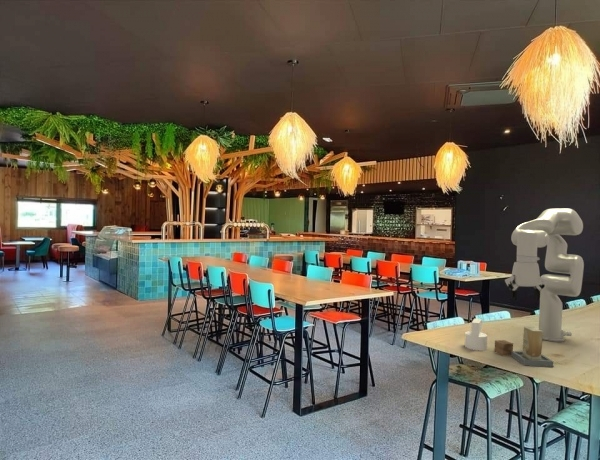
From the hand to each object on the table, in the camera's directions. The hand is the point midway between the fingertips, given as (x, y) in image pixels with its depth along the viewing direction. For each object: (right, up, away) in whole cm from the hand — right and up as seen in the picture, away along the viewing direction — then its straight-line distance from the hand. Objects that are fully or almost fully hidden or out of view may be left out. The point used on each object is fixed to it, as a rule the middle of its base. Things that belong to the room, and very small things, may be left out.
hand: (525, 299), depth 171 cm
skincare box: (-2, -23, -8) cm, 24 cm away
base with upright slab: (-18, -23, +8) cm, 30 cm away
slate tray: (-2, -24, -9) cm, 25 cm away
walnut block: (-9, -23, +1) cm, 25 cm away
